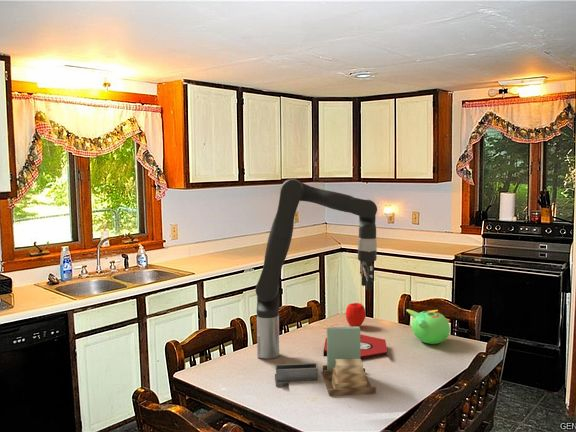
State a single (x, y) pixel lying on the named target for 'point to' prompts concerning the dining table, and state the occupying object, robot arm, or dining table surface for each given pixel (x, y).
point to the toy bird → (430, 326)
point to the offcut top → (348, 366)
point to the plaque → (368, 347)
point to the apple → (355, 314)
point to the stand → (295, 373)
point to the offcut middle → (349, 377)
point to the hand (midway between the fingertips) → (366, 288)
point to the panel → (342, 344)
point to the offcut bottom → (348, 384)
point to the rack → (344, 391)
